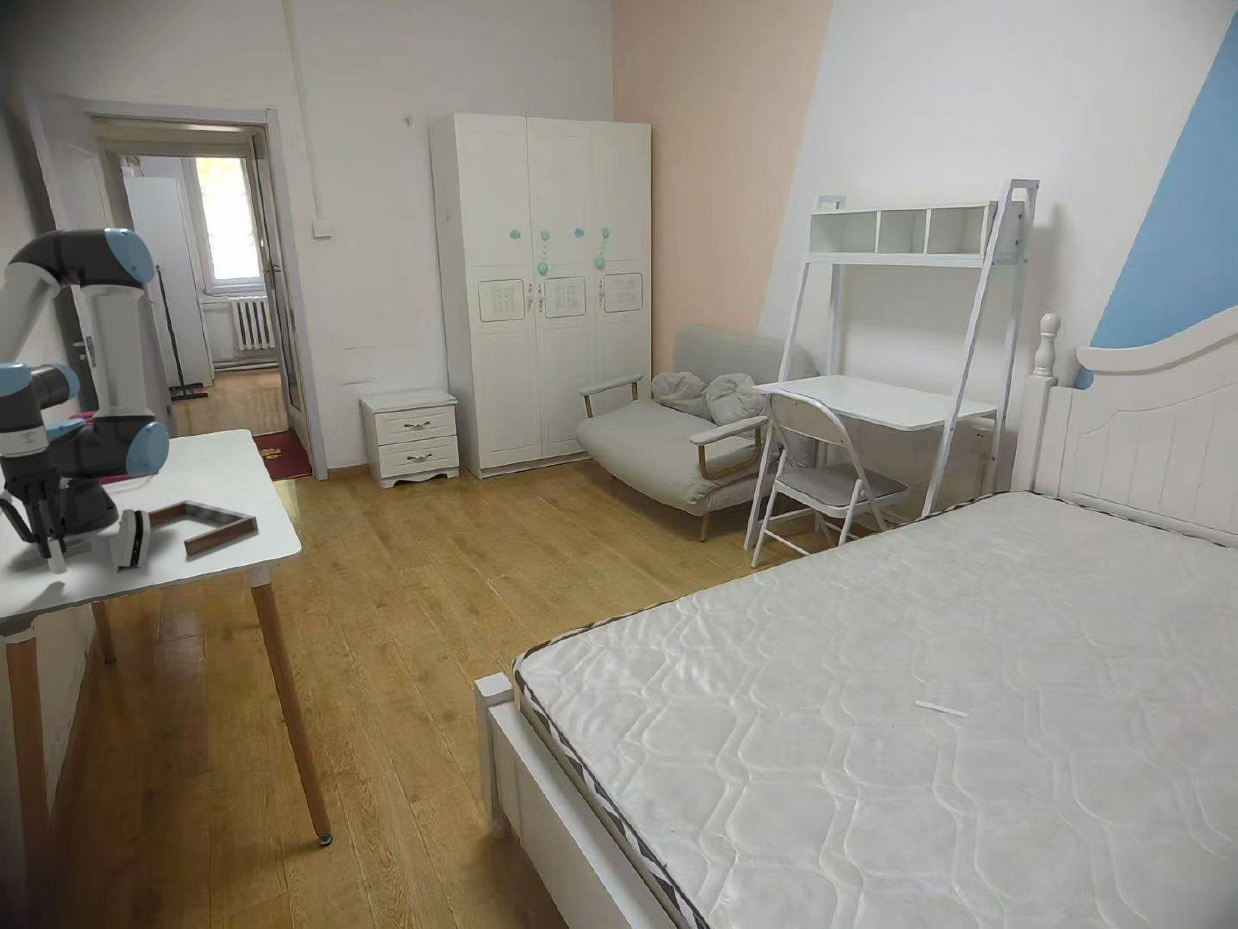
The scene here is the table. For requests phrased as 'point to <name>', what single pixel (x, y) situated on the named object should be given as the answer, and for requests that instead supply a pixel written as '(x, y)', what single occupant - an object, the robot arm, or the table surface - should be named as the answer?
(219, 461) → the table surface
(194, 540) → the brown u-shaped frame
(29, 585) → the table surface
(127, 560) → the hinge
